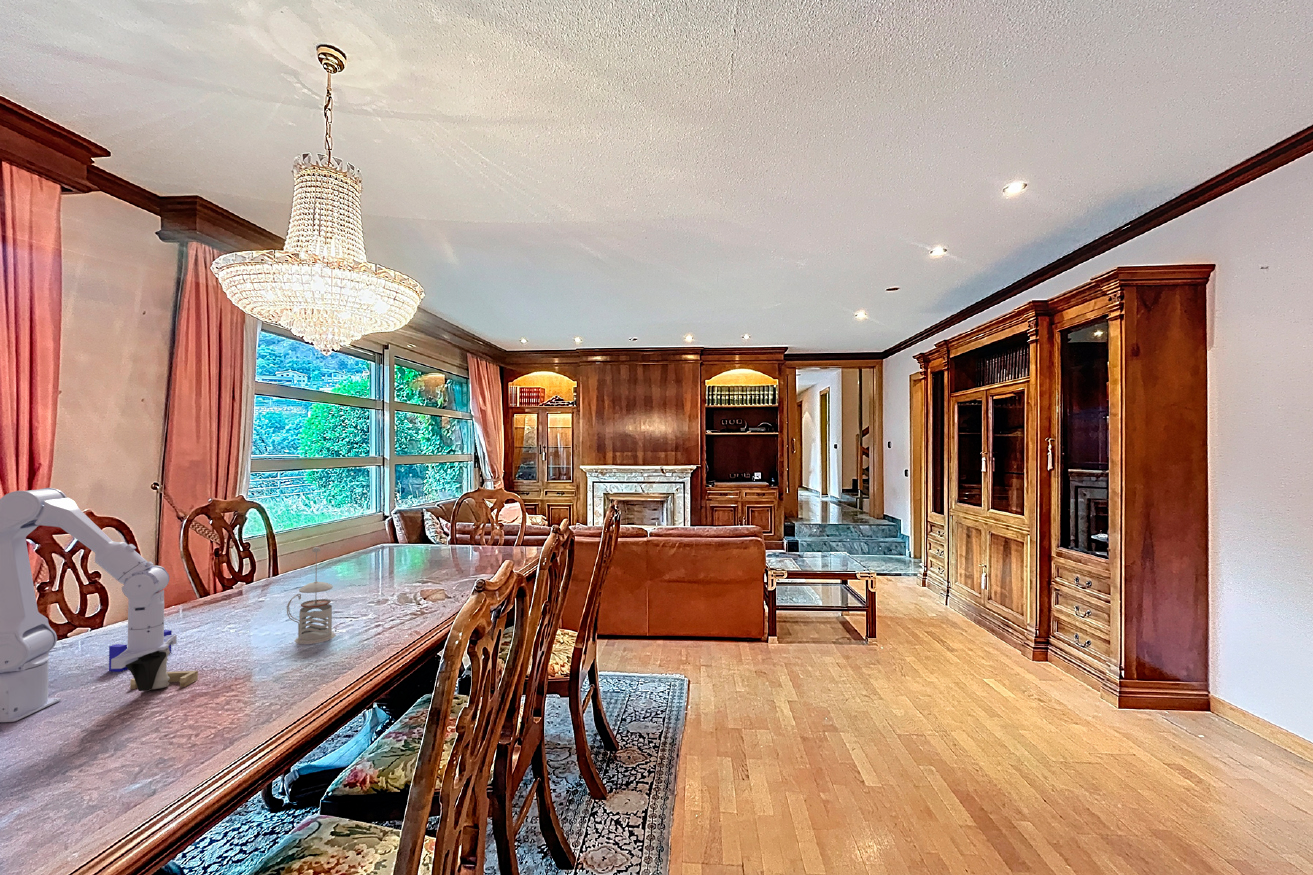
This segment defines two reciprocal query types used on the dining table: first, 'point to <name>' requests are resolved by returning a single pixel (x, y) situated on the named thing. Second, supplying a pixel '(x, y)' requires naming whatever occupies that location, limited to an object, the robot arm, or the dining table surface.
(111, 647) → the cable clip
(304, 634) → the french press
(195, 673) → the wooden bracket
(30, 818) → the dining table surface
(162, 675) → the rook chess piece
